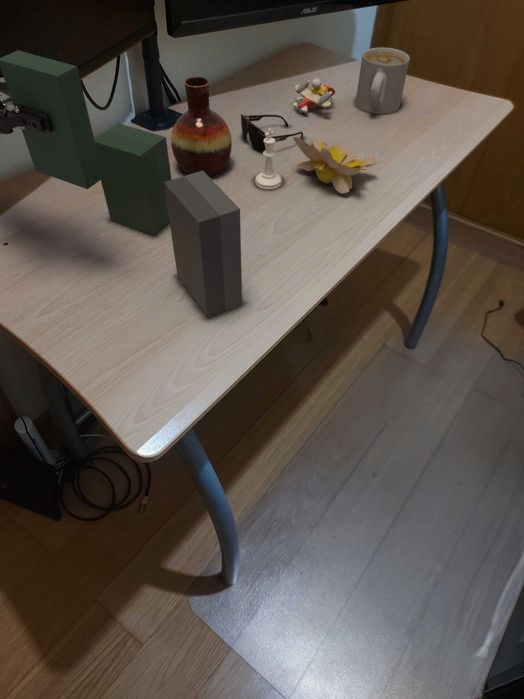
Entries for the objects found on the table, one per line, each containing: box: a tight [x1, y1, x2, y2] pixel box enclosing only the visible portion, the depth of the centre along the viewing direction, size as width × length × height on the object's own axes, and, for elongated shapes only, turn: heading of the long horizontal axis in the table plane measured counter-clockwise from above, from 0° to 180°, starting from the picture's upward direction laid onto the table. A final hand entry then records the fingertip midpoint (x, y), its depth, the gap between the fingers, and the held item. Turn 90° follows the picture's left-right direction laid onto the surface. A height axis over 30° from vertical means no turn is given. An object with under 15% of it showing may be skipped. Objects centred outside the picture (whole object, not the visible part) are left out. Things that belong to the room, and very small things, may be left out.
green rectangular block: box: [94, 122, 173, 237], centre depth 82 cm, size 6×9×14 cm
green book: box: [0, 50, 103, 190], centre depth 64 cm, size 3×9×14 cm, turn 62°
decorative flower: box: [292, 136, 379, 194], centre depth 92 cm, size 15×11×10 cm
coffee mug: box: [355, 47, 411, 115], centre depth 112 cm, size 13×10×10 cm
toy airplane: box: [293, 77, 336, 114], centre depth 112 cm, size 9×9×6 cm
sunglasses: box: [240, 113, 304, 153], centre depth 104 cm, size 10×12×5 cm
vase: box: [170, 76, 233, 177], centre depth 93 cm, size 11×11×15 cm
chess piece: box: [254, 127, 283, 190], centre depth 91 cm, size 5×5×10 cm
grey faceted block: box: [164, 171, 243, 319], centre depth 70 cm, size 6×10×16 cm, turn 31°
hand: (60, 117), depth 63 cm, fingers closed on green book, 3 cm apart
